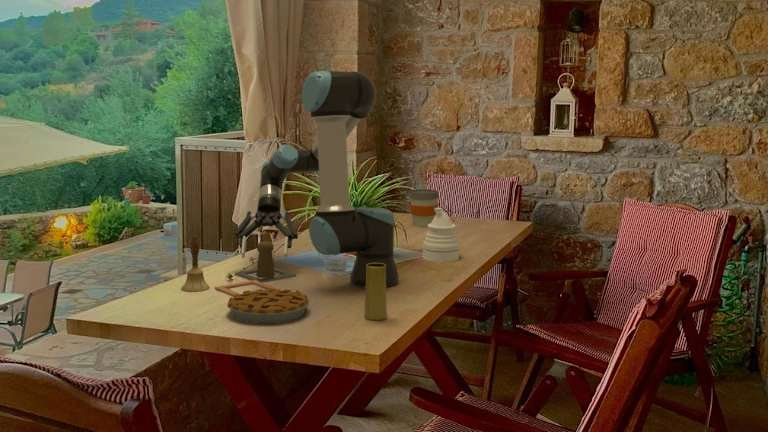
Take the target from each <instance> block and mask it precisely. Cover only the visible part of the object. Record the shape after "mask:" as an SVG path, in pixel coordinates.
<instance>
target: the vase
mask: <svg viewBox="0 0 768 432" xmlns="http://www.w3.org/2000/svg"><path fill="white" fill-rule="evenodd" d="M387 303H388V301H387V287H386V264H383V263H369V264H367V265H366V287H365V301H364V319H366V320H370V321H382V320H385V319H387V318H388V313H387V312H388V311H387Z"/></svg>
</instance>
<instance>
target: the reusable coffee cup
mask: <svg viewBox="0 0 768 432" xmlns="http://www.w3.org/2000/svg"><path fill="white" fill-rule="evenodd" d="M409 199H410V204H409V208H410V214H411V216H412V226H413V227H416V228H428V227H427V225H428V224H430V223H431V222H432V220H433V219H434V217H435V216H436V214H437V213H436V212H435V210H434V208H439V207H438V205H439V204H438V199H440V198H439V191H438V190H435V189H423V188H422V189H421V188H419V189H411V190H410V191H409Z"/></svg>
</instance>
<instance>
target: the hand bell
mask: <svg viewBox="0 0 768 432" xmlns="http://www.w3.org/2000/svg"><path fill="white" fill-rule="evenodd" d="M189 245H190V247H189V250H190V253H191V258H192V259H191V260H192V262H191V269H188V270H187V274H186V275H187V276H186V280H185V282H184V283H183V285H182V286H181V288H180V289H181V290H182V291H184V292H189V291H190V292H191V293H194V292H196V293H197V292H198V291H199V292H203V291H208V290H209V289H210V286H209V284H208V283H207V282H206V280H205V277H204V272H203V269H200V268H199V262H198V261H199V260H198V258H199V252H200V242H199V239H198V236H197V235H193V236H192V237H191V241H190V244H189ZM192 291H193V292H192ZM190 292H189V293H190Z"/></svg>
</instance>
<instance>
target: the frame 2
mask: <svg viewBox="0 0 768 432" xmlns="http://www.w3.org/2000/svg"><path fill="white" fill-rule="evenodd" d="M274 271H275V273H277V274H280V275H275V276H274V277H269V278H260V277H257V276H253V275H251V274H256V273H257V268H256V269H255V268H254V269H250V270H249V269H248V270H244V271H237V272H235V273H234V274H235V276H238V277H241V278H243V279H246V280H248V281H252V280H257V281H259V282H262V283H268V282H272V281H278V280H284V279H289V278H294V277H297V274H295V273H293V272H290V271H287V270H285V269H280V268H278V267H275V266H274Z"/></svg>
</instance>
